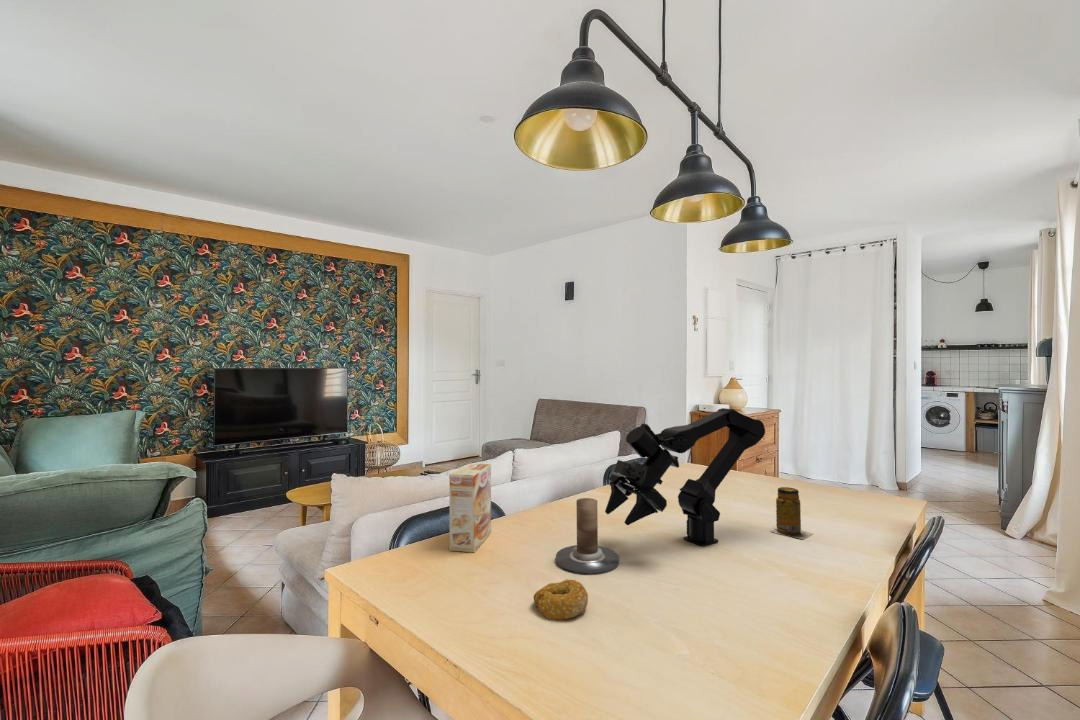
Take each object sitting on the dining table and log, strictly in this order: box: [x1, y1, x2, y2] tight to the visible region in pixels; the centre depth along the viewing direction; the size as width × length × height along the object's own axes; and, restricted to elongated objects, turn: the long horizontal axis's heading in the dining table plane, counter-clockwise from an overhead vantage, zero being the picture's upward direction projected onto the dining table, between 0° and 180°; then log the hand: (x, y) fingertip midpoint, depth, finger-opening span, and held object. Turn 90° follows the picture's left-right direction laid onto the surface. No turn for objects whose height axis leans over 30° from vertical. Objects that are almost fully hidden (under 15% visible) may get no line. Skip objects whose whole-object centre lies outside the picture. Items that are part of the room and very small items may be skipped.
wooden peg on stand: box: [573, 497, 602, 561], centre depth 117 cm, size 7×7×13 cm
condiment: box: [770, 486, 814, 540], centre depth 135 cm, size 7×8×12 cm
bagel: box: [533, 579, 589, 621], centre depth 94 cm, size 10×11×5 cm
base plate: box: [555, 544, 620, 575], centre depth 117 cm, size 15×15×1 cm
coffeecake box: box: [448, 463, 492, 553], centre depth 131 cm, size 15×7×20 cm, turn 168°
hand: (615, 518), depth 120 cm, fingers open, 9 cm apart
